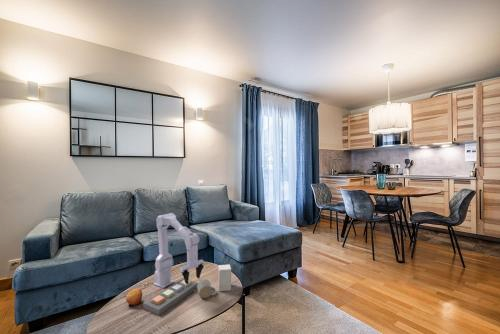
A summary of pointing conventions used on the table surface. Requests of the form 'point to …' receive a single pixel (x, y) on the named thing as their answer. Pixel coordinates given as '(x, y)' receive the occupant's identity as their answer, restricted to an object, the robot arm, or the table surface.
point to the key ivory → (185, 283)
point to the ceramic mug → (205, 288)
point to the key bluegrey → (177, 288)
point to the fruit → (134, 296)
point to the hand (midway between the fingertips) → (192, 280)
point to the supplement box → (224, 277)
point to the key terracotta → (158, 300)
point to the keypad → (171, 301)
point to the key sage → (168, 294)
